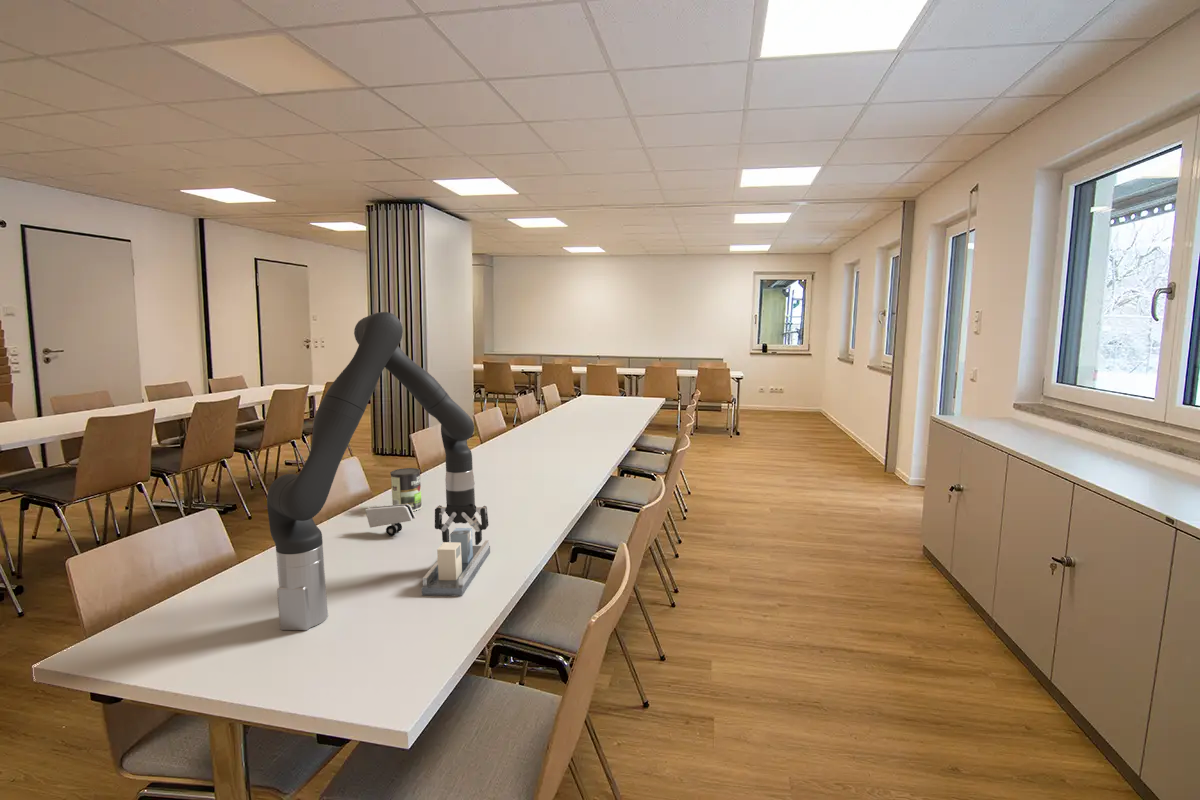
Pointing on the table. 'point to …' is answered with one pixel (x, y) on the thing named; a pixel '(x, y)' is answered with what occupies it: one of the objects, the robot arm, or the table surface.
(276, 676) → the table surface
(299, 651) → the table surface
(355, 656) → the table surface
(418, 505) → the coffee can
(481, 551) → the tray
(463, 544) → the block
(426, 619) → the table surface
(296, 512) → the robot arm
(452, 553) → the block
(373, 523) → the grey wheeled device
